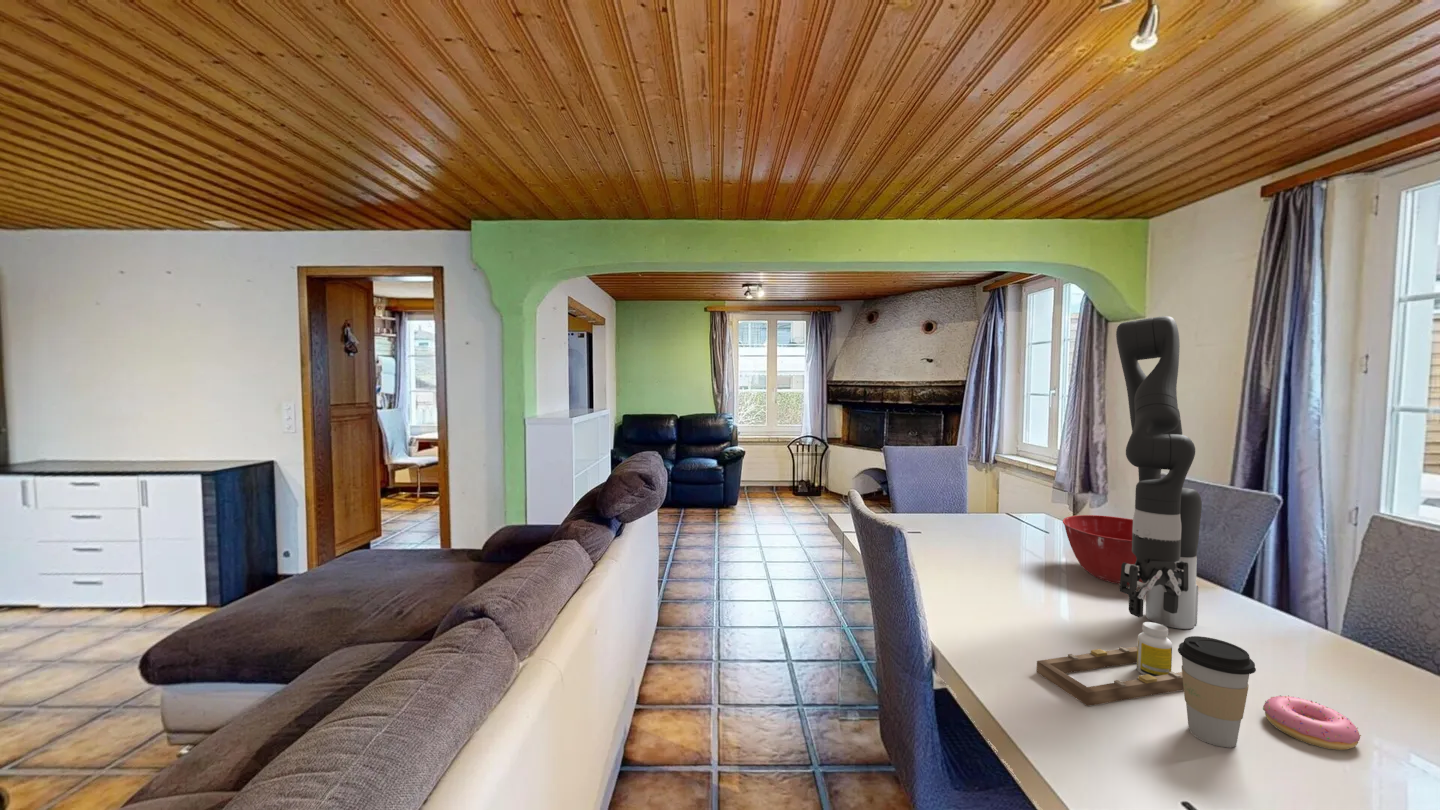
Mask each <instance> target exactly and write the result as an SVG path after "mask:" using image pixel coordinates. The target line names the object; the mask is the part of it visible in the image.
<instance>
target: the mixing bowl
mask: <svg viewBox="0 0 1440 810" xmlns="http://www.w3.org/2000/svg"><path fill="white" fill-rule="evenodd" d="M1062 524H1063V525H1064V529H1065V532H1066V536H1067V539H1068V540H1067V541H1068V543H1069V545H1070V547H1071V549H1072V552H1073V554H1074V556H1075V558H1076V560H1077V562H1078V563H1079V565H1080V566H1081V567H1082V568H1083V569H1084V570H1085V571H1087V572H1088V573H1089V574H1091V575H1092V576H1093V577H1095V578H1097V579H1100V581H1101V580H1102V581H1105V582H1109V583H1113V584H1116V585H1117V584H1118V585H1120V578H1121V566H1122V563H1128V564H1135V562H1136V556H1135V555H1134V554H1133V553H1132V532H1133V518H1125V517H1118V516H1112V515H1111V516H1110V515H1108V516H1107V515H1095V514H1081V515H1070V516H1066V517H1065V518H1063V520H1062ZM1139 582H1142V580H1141V579H1139ZM1142 583H1143V582H1142ZM1127 586H1130V584H1129V583H1128V582H1127Z"/></svg>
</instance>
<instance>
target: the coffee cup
mask: <svg viewBox="0 0 1440 810" xmlns="http://www.w3.org/2000/svg"><path fill="white" fill-rule="evenodd" d="M1177 652H1178V653H1179V655H1180V656H1181V663H1182V665H1181V672H1182V677H1183V688H1184V690H1183V696H1184V702H1185V704H1186V705H1185V707H1186V716H1187V727H1188V730H1189V733H1191V734H1192V735H1193V736H1194V737H1196V738H1197V739H1198V740H1201V742H1205V743H1207V744H1209V745H1213V746H1216V747H1220V748H1221V747H1222V748H1235V747H1236V746H1237V743H1238V737H1239V733H1240V728H1241V722H1242V719H1244V714H1245V707H1246V702H1247V699H1248V698H1247V697H1248V692H1249V679H1250V675H1251V674H1255V673H1256V672H1257V668H1256V664H1255V662H1254V661H1253V659H1251V656H1250V654H1249V653H1248V651H1247V650H1245V649H1243V648H1242V647H1239V646H1238V645H1236V644H1234V643H1233V644H1232V643H1231V642H1228V641H1225V640H1222V639H1217V638H1214V637H1207V636H1198V635H1193V636H1187V637H1185V638H1184V640H1183V642H1181V643H1179V645H1178V648H1177Z"/></svg>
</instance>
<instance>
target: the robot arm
mask: <svg viewBox="0 0 1440 810" xmlns="http://www.w3.org/2000/svg"><path fill="white" fill-rule="evenodd" d="M1115 332H1116V333H1115V336H1116V337H1115V338H1116V345H1117V346H1116V347H1117V349H1118V350H1117V351H1118V355H1119V360H1120V363H1121V369H1122V372H1123V373H1122V374H1123V376H1124V380H1125V385H1126V387H1125V388H1126V391H1127V399H1128V409H1129V419H1130V424H1131V431H1132V432H1131V435H1130V436H1129V439H1128V441H1127V444H1126V448H1125V456H1126V459H1127V461H1128V462H1129V463H1130V464H1131V465H1132V466H1134V467H1136V468H1138V470H1137V471H1138V482H1136V485H1135V495H1134V496H1135V502H1134V504H1135V505H1134V512H1133V518H1132V519H1133V532H1132V553H1133V554H1134V555H1135V556H1136V562H1135V564H1128V563H1122V566H1121V578H1120V584H1119V592H1120V593H1123V594H1125V595H1128V612H1129V613H1130V615H1131V616H1134V617H1136V618H1143V617H1144V600H1145V617H1146V618H1147V620H1150V621H1152V623H1157V624H1161V625H1163V626H1165V627H1167V628H1174V629H1181V630H1182V629H1183V630H1189V629H1191V630H1192V629H1194V628H1195V625H1197V624H1198V609H1199V608H1198V606H1199V605H1198V604H1199V603H1198V602H1199V585H1197V566H1198V565H1197V562H1198V560H1197V559H1198V558H1197V557H1198V556H1197V555H1198V545H1199V540H1200V529H1201V527H1200V526H1201V517H1202V507H1203V506H1202V505H1203V504H1202V497H1201V495H1200V493H1199V492H1198V491H1197V490H1196V489H1193V488H1188V487H1183V486H1184V484H1185V481H1186V478H1187V475H1188V473H1189V470H1190V469H1191V467H1192V464H1193V462H1194V459H1195V456H1196V447H1195V444H1194V441H1193V440H1191V438H1190V437H1188V436H1187V435H1185V434H1183V428H1182V420H1181V413H1180V412H1181V411H1180V409H1179V406H1178V397H1177V395H1178V394H1177V393H1178V391H1177V383H1178V377H1179V376H1178V375H1179V368H1180V367H1179V366H1180V365H1179V364H1180V363H1179V362H1180V333H1179V328H1178V325H1177V322H1176V321H1175V319H1174V318H1173V317H1172V316H1169V315H1165V316H1163V315H1162V316H1155V317H1148V318H1144V319H1143V318H1142V319H1135V320H1131V321H1124V322H1121V323H1119V324H1118V326H1117V328H1116V331H1115ZM1157 358H1158V359H1159V360H1158V362H1157V364H1156V365H1155V366H1154V368H1153V369H1152V370H1151V371H1150V372H1149V374H1148V375H1146V373H1145V371H1144V370H1143V369H1142V367H1141V365H1140V363H1139V361H1142V360H1150V359H1152V360H1153V359H1157ZM1162 470H1168V472H1167V474H1166V475H1164V476H1163V477H1161V474H1162ZM1139 579H1141V580H1142V582H1143V583H1142V582H1139ZM1127 582H1128V583H1129V584H1130V585H1127ZM1137 588H1139V589H1138V591H1137ZM1144 597H1145V599H1144Z"/></svg>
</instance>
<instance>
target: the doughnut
mask: <svg viewBox="0 0 1440 810" xmlns="http://www.w3.org/2000/svg"><path fill="white" fill-rule="evenodd" d="M1262 706H1263V707H1262V710H1263V711H1264V715H1265V717H1266V719H1267V720H1268V721H1269V723H1271V725H1273V726H1274V727H1275V728H1277V730H1278V731H1280V732H1282V733H1284V734H1285V735H1287V736H1289V737H1291V738H1293V739H1295V738H1296V740H1298V741H1300V742H1303V743H1305V742H1306V744H1308V745H1312V746H1315V747H1318V748H1322V747H1323V749H1327V748H1328V749H1329V750H1334V749H1335V751H1345V750H1349V749H1354V748H1355V747H1356V746H1357V745H1358V744H1359V742H1360V740H1361V737H1362V735H1361V734H1360V732H1359V730H1358V729H1359V727H1356V725H1355V724H1354V723H1353V722H1352V721H1351V719H1350V718H1348V717H1346V716H1345V715H1343V714H1342V713H1340V712H1338V710H1337V711H1336V710H1335V709H1333V708H1331V707H1328V706H1326V705H1324V704H1321V703H1317V701H1313V700H1308V699H1304V698H1301V697H1297V696H1296V697H1295V696H1290V695H1288V696H1287V695H1277V696H1270V698H1267V700H1265V701H1264V703H1263V705H1262Z"/></svg>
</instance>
